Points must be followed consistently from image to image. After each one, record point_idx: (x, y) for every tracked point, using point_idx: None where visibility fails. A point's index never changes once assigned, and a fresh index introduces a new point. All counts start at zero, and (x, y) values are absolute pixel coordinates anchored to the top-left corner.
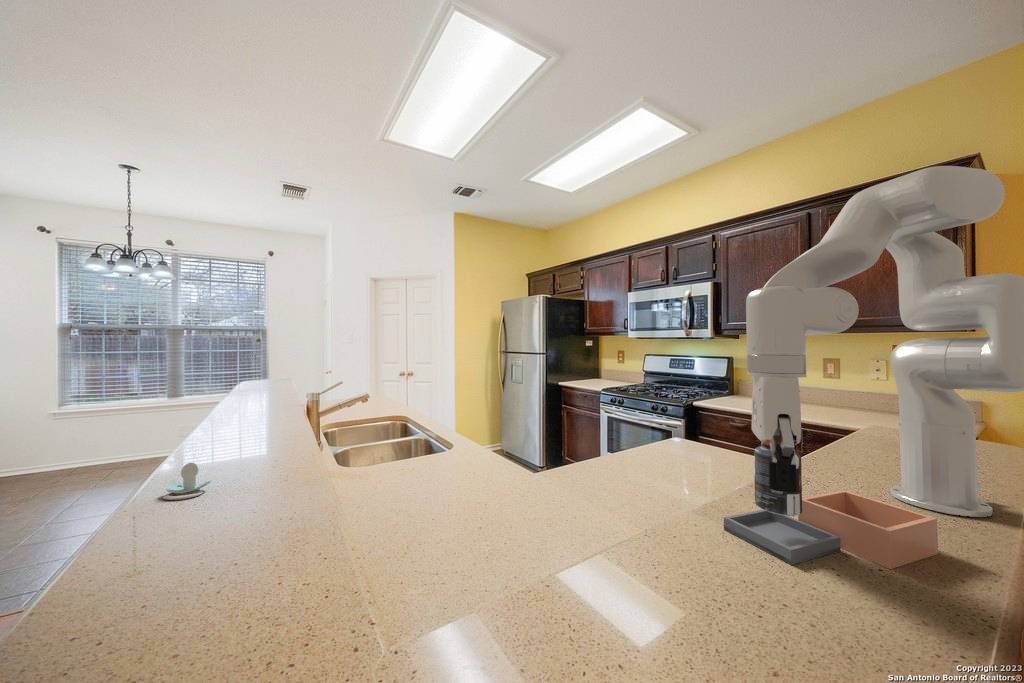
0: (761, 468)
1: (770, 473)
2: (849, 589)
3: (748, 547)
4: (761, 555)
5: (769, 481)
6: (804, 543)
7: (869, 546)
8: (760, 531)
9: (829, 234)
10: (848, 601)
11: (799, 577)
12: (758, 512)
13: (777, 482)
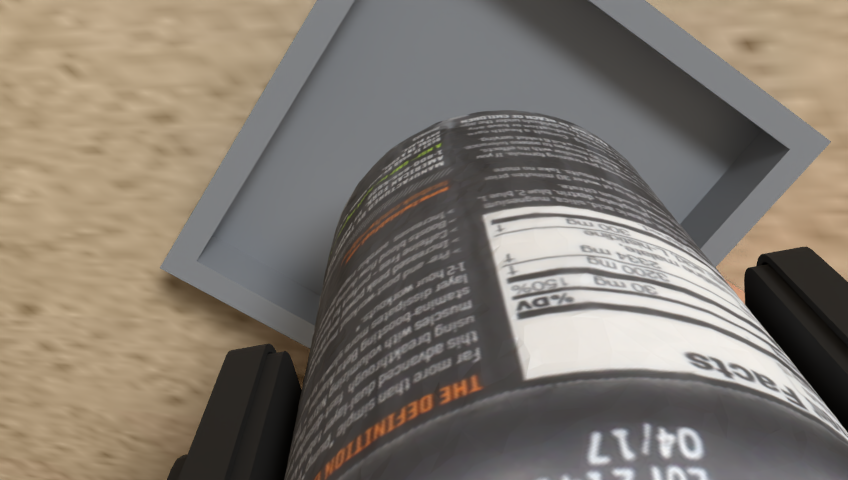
0: (332, 381)
1: (195, 469)
2: (139, 416)
3: (240, 22)
4: (186, 97)
5: (225, 387)
6: (311, 327)
7: None
8: (482, 83)
9: None
10: (29, 406)
11: (82, 261)
12: (693, 77)
13: (175, 467)
